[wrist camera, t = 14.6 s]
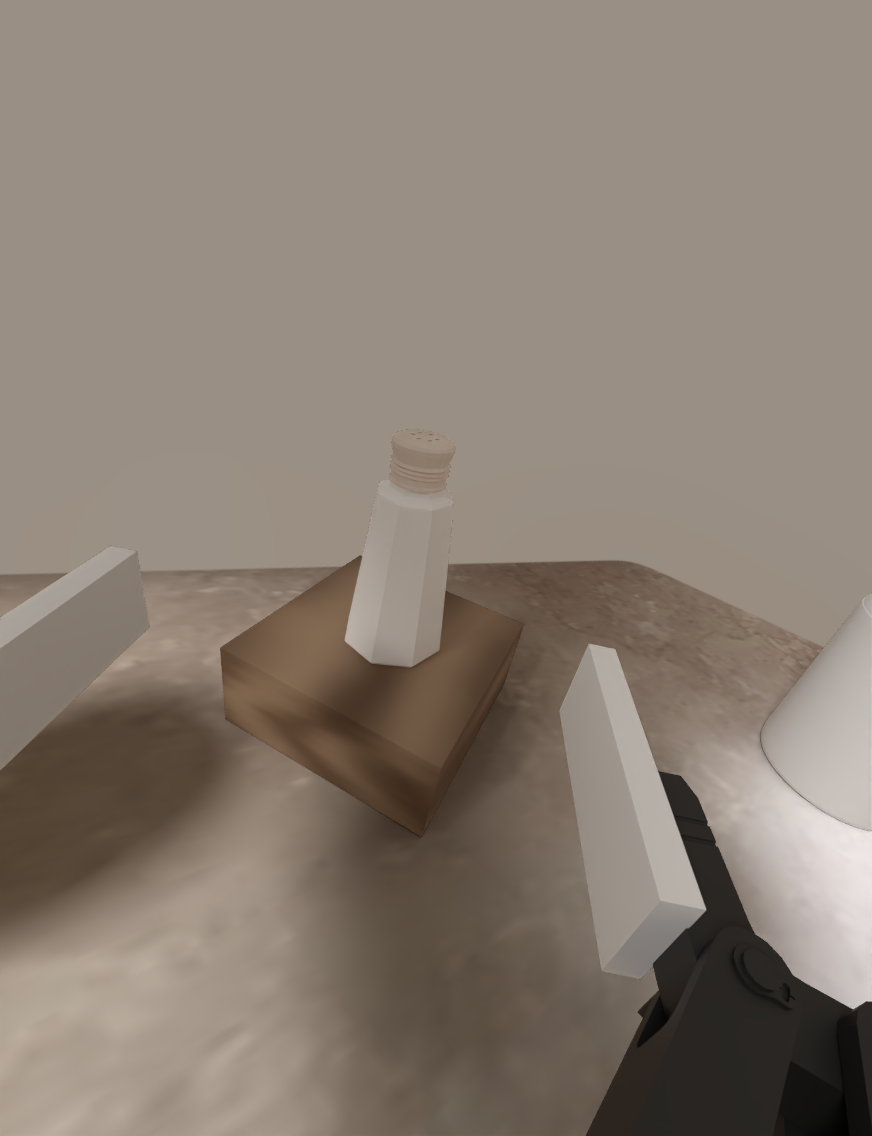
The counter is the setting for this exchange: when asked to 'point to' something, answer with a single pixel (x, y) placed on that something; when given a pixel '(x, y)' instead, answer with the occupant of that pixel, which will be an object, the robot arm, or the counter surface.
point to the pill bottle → (830, 725)
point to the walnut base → (368, 697)
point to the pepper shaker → (405, 555)
